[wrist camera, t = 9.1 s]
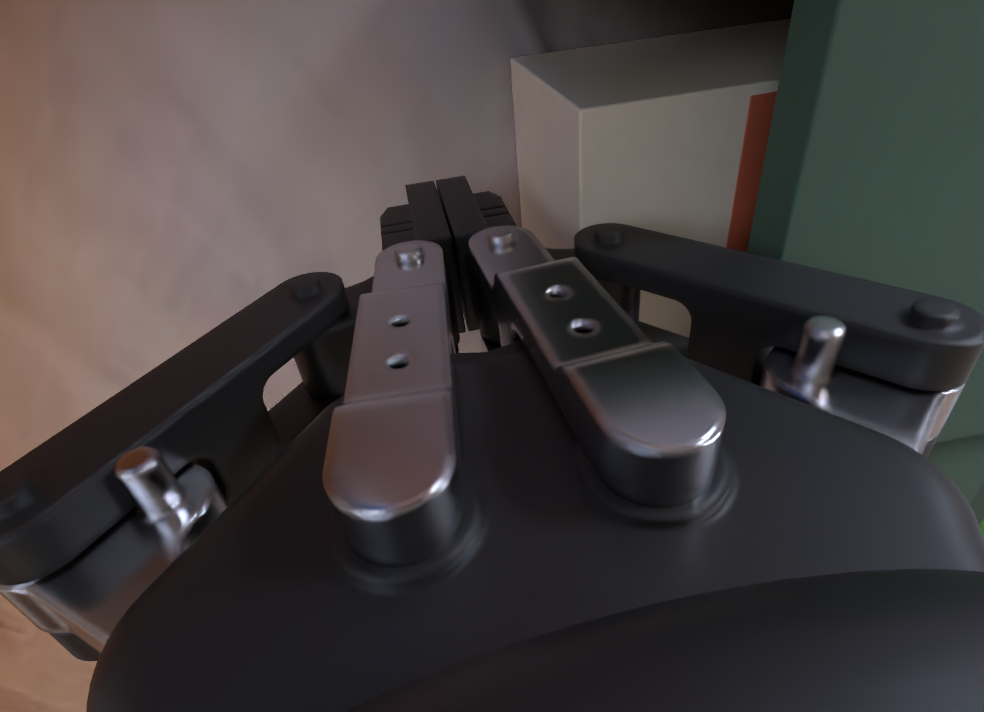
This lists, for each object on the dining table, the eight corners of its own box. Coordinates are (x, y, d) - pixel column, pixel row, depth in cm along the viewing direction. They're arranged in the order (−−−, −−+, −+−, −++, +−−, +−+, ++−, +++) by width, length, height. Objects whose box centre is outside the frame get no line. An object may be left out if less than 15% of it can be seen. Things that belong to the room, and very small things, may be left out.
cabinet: (467, -104, 13) (582, -159, 6) (948, -158, 14) (1500, -256, 7) (527, 540, 27) (583, 738, 20) (764, 488, 28) (891, 660, 21)
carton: (509, 57, 15) (579, 109, 10) (827, 13, 16) (1032, 42, 11) (524, 273, 19) (580, 386, 14) (780, 228, 20) (916, 321, 15)
